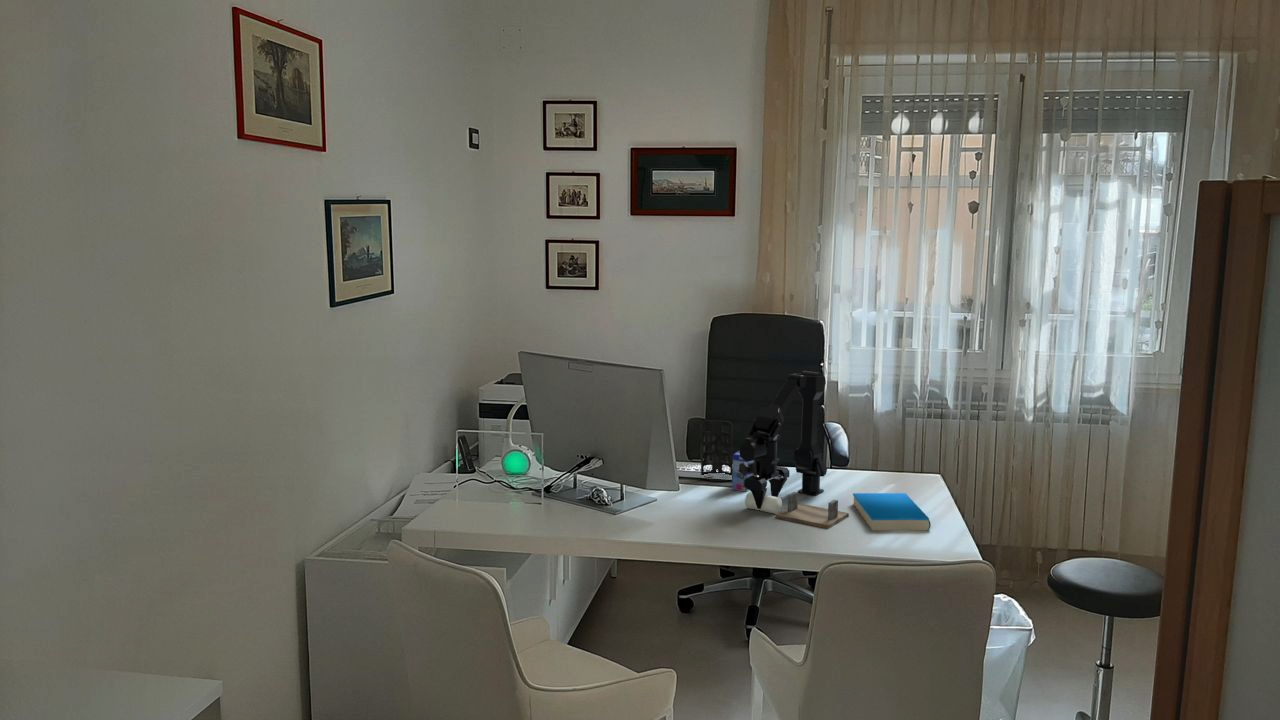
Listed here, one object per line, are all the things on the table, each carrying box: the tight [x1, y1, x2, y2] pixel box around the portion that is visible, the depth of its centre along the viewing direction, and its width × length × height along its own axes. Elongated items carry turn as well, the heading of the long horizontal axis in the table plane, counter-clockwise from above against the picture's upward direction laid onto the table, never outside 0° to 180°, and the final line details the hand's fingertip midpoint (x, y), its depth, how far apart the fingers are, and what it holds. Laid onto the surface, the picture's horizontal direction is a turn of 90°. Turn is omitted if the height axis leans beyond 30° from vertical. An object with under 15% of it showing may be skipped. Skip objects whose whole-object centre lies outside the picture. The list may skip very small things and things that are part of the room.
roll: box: [744, 491, 783, 515], centre depth 288 cm, size 5×10×5 cm
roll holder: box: [775, 491, 850, 530], centre depth 281 cm, size 14×17×6 cm
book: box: [852, 492, 932, 531], centre depth 282 cm, size 17×4×25 cm
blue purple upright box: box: [731, 450, 756, 493], centre depth 311 cm, size 10×6×14 cm, turn 152°
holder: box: [699, 419, 733, 482], centre depth 321 cm, size 11×8×20 cm
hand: (766, 504), depth 289 cm, fingers open, 9 cm apart
